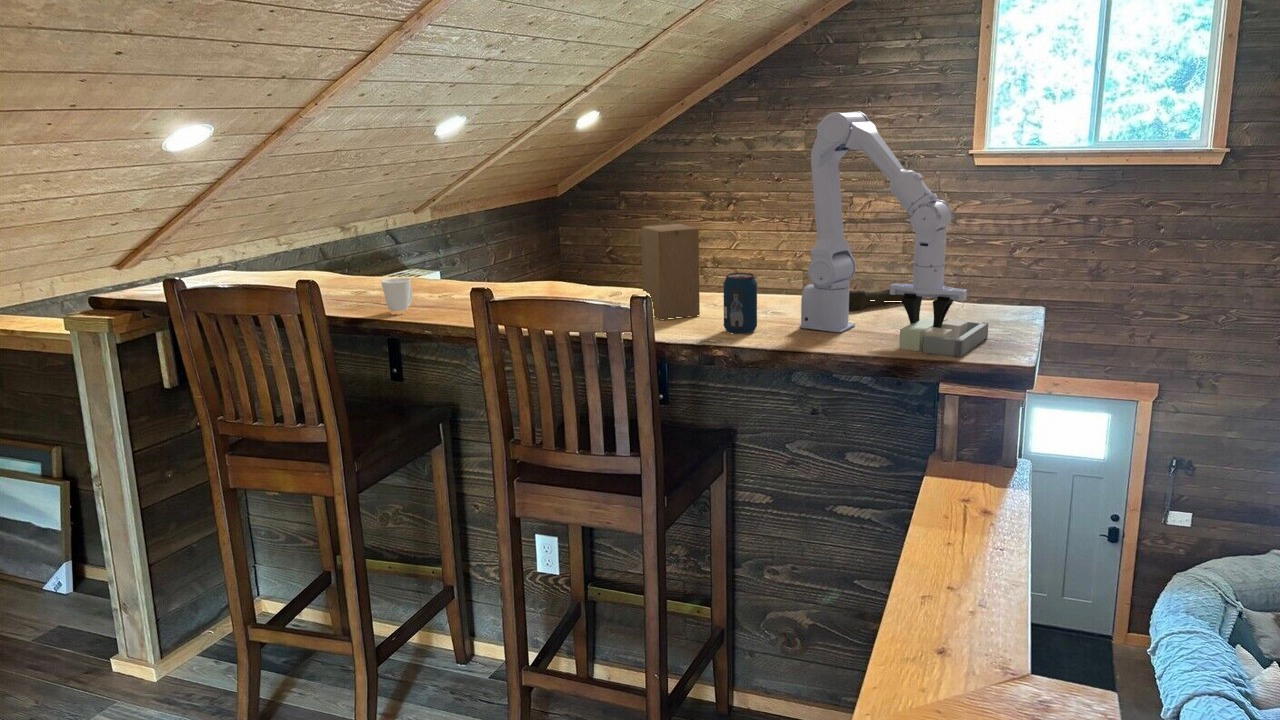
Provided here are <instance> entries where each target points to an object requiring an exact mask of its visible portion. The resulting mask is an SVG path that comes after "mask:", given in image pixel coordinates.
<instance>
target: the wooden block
mask: <svg viewBox="0 0 1280 720" xmlns="http://www.w3.org/2000/svg"><path fill="white" fill-rule="evenodd" d="M699 230H700V229H699V228H698V227H694V226H690V225H687V224H686V225H685V224H684V223H683V224H682V223H670V224H659V225H658V224H657V225H648V226H646V225H645V226H641V230H640V234H641V236H640V237H641V240H640V241H641V267H642V271H641V273H642V292H643V291H646V292H647V293H649V294H650V296H651V299H652V302H653V309H654V316H655V318H654V319H656V318H658V319H668V318H676V317H687V316H696V317H698V316H697V315H699V316H700V314H701V312H700V310H701V309H700V253H699V252H700V246H699V245H700V244H699V242H700V241H699V239H700V237H699V235H700V234H699ZM658 319H657V320H658Z"/></svg>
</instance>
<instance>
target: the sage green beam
mask: <svg viewBox="0 0 1280 720" xmlns="http://www.w3.org/2000/svg"><path fill="white" fill-rule="evenodd" d="M946 320H949V319H948V317H945V318H944V320H943V322H944V321H946ZM933 323H934V315H933V316H932V315H927V316H925V317H923V318H921V319H919V321H918V322H916V323H912V324H910V323H909V324H908V325H906V326H904V327H902V328H901V329H899V343H898V344H899V345H898V348H899V349H901V350H908V351H917V352H921V351H923V340H924V331H925V330H927V329H929V328H931V327H933Z"/></svg>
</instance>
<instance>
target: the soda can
mask: <svg viewBox="0 0 1280 720" xmlns="http://www.w3.org/2000/svg"><path fill="white" fill-rule="evenodd" d="M757 326H758V282H757V280H756V278H755V274H754V273H749V272H731V273H728V274H726V278H725V280H724V281H723V327H724V329H725V330H726V332H727V333H728V332H729V333H728V334H730V333H733V334H732V335H737V334H743V335H750V334H753V333H754V332H755V331H756V329H757ZM749 333H750V334H749Z"/></svg>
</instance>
